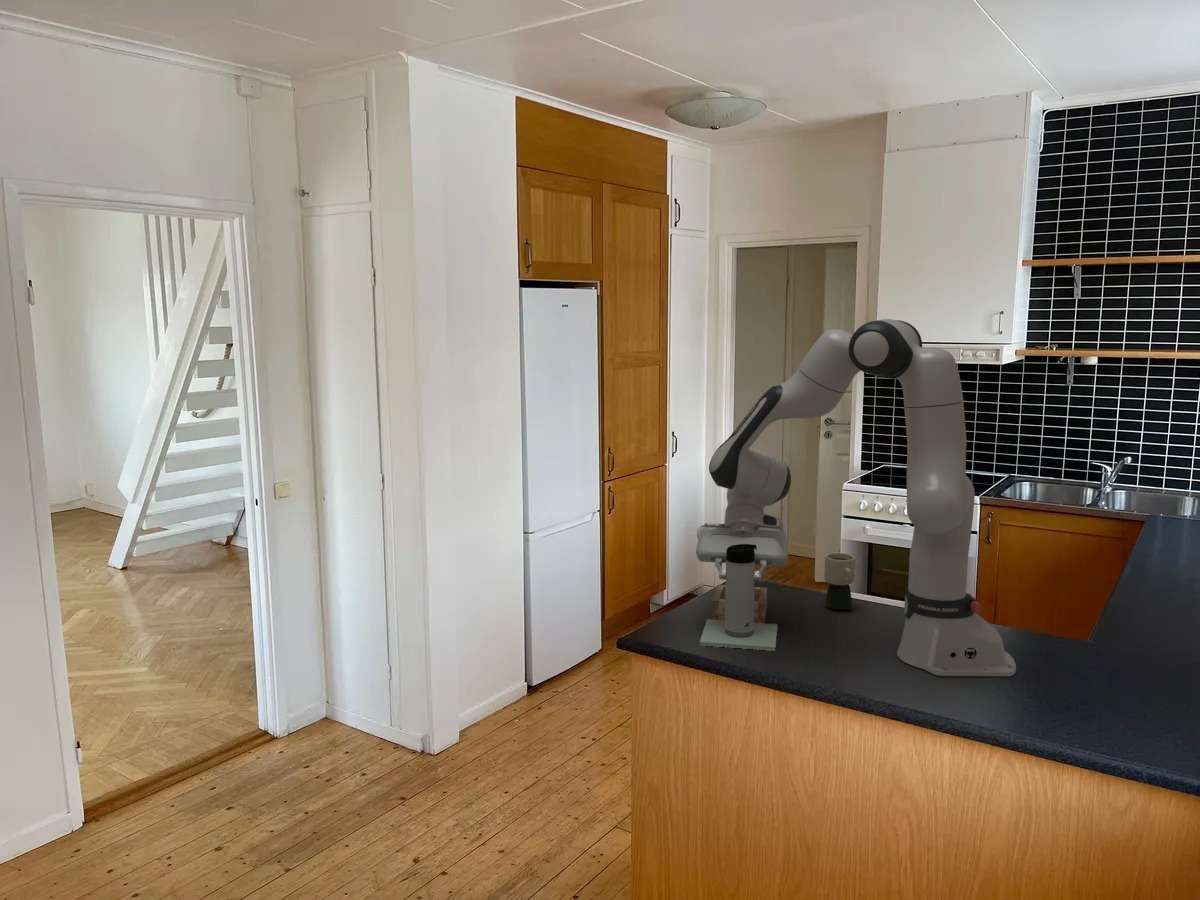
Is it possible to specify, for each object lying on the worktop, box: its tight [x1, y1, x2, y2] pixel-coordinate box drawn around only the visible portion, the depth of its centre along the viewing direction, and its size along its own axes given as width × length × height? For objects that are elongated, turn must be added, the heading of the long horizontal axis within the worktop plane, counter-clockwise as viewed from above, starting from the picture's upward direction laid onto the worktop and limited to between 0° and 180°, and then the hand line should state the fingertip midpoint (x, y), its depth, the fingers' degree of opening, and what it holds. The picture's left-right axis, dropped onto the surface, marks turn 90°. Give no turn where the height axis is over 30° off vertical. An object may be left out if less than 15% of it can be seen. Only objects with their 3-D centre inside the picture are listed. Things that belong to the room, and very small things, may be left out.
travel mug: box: [725, 544, 757, 637], centre depth 191 cm, size 6×7×20 cm
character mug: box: [823, 552, 857, 611], centre depth 210 cm, size 11×7×13 cm, turn 10°
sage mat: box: [699, 619, 778, 652], centre depth 193 cm, size 16×14×1 cm
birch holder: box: [711, 584, 768, 624], centre depth 207 cm, size 12×12×5 cm
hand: (740, 579), depth 190 cm, fingers closed on travel mug, 6 cm apart
